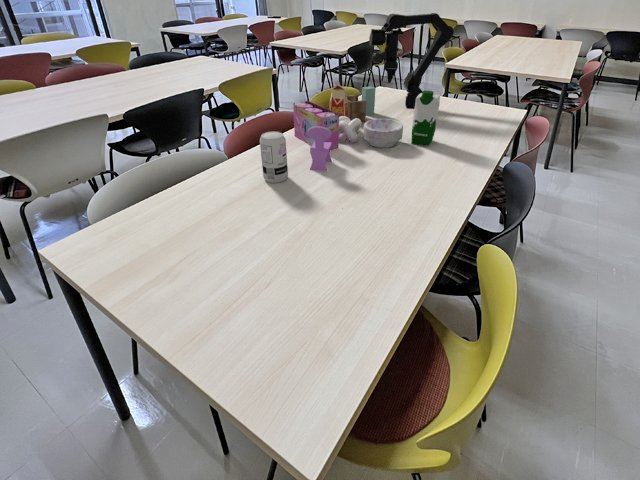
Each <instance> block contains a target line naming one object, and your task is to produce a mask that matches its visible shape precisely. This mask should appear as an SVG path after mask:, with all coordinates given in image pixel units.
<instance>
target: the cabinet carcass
mask: <svg viewBox="0 0 640 480" xmlns="http://www.w3.org/2000/svg"><path fill="white" fill-rule="evenodd" d="M347 101H348V112H349V119H350V120H351V121H352V120H353V119H355V118H358V119H360V120H361V123H366V116H367V115H366V100H362V99H361V100H359V95H358V94H349V95H347Z"/></svg>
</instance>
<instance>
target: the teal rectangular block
mask: <svg viewBox="0 0 640 480" xmlns="http://www.w3.org/2000/svg"><path fill="white" fill-rule="evenodd" d="M376 89H377V88H376V87H374V86H370V85H369V86H364V87H361V100H366V116H370V115H374V114H375V103H376Z"/></svg>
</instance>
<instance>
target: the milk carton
mask: <svg viewBox="0 0 640 480" xmlns="http://www.w3.org/2000/svg"><path fill="white" fill-rule="evenodd" d="M347 96H348V94H347V89H346V88H345V87H343V86H342V85H341V84H340V82H339V81H338V82H337V85H336V86H335V87H333V88H332V89H331V94H330V99H329V104H328V106H329V107H328V110H331V111H333V112H336V113H337V114H339V117H341V116H346V117H348V118H349V112H348V101H347ZM339 133H340V130H339Z"/></svg>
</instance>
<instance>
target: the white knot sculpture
mask: <svg viewBox="0 0 640 480" xmlns="http://www.w3.org/2000/svg"><path fill="white" fill-rule="evenodd" d="M361 126H362V122H361V120H360V119H358V118H355V119H353V120H352V121H351V120H350V119H349V118H348V117H346V116H341V117H339V130H340V132H339V143H342V142H345V141H346V140H349V141H350V142H351V143H353V144H354V143H357V141H358V135H357V133H358V131H360V129H361Z"/></svg>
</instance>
